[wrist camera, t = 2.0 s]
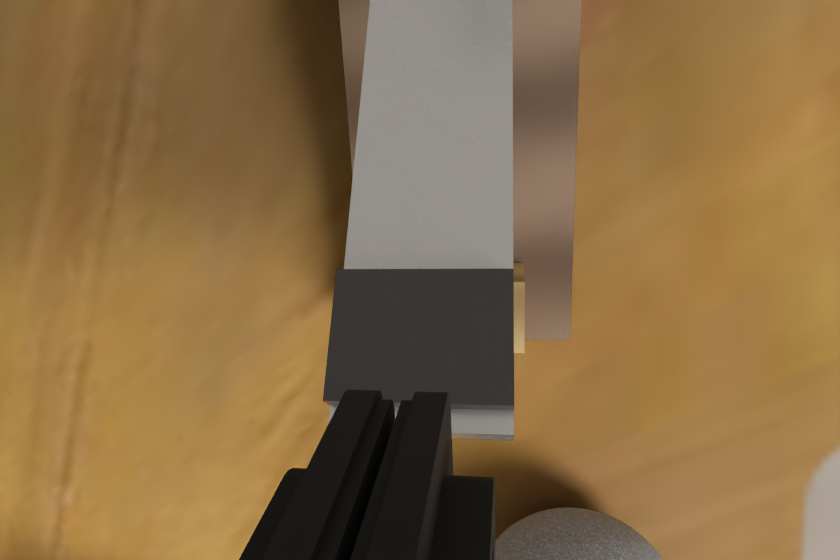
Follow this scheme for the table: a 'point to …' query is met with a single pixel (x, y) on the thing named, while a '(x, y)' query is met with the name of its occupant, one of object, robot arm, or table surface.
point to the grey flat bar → (432, 216)
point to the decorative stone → (572, 538)
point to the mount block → (522, 152)
